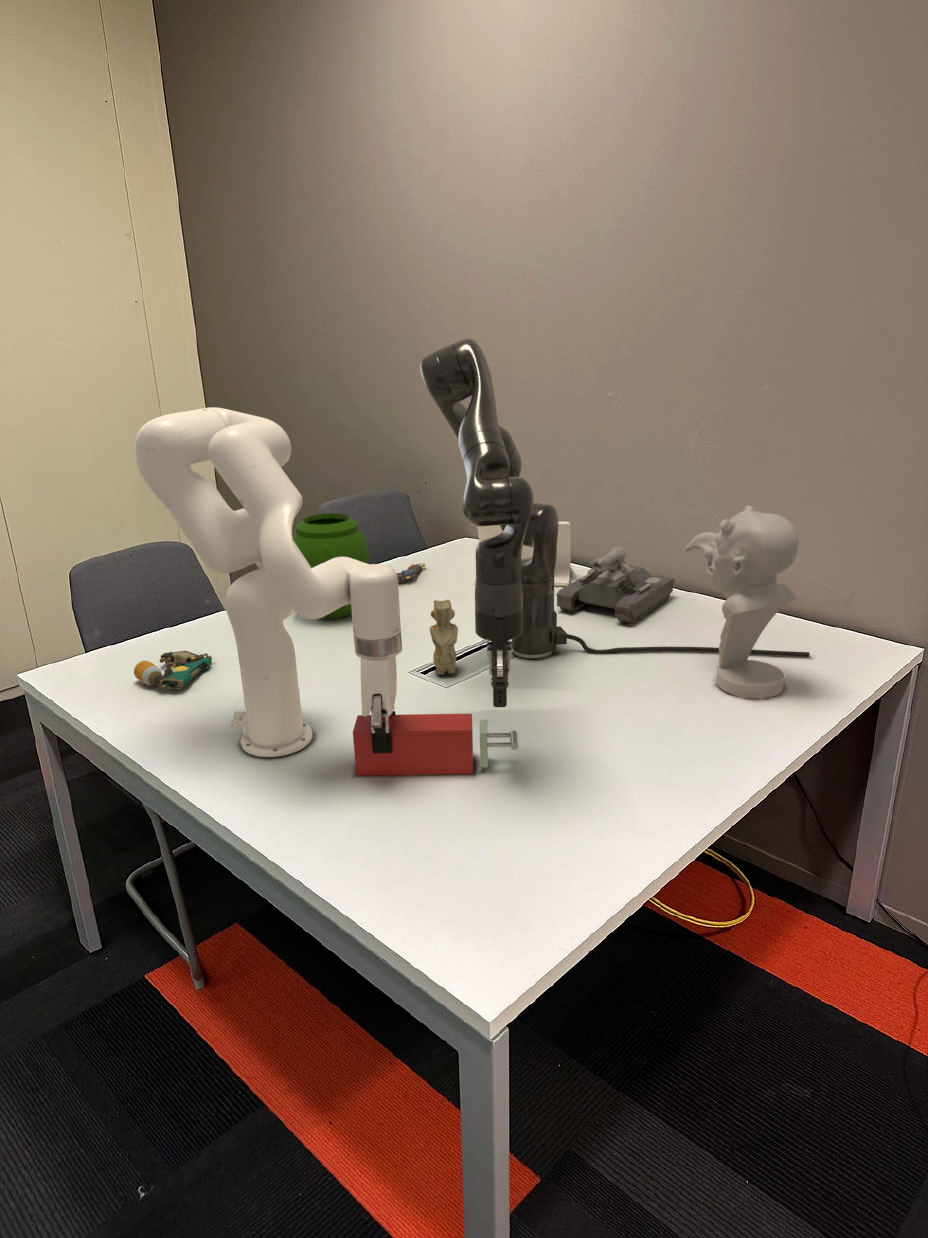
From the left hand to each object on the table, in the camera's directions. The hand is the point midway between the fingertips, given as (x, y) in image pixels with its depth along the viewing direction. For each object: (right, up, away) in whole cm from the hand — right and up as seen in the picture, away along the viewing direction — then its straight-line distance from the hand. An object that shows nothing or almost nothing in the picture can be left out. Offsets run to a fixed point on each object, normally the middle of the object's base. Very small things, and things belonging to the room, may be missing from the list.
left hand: (384, 741), depth 142 cm
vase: (-19, +21, +72) cm, 77 cm away
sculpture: (+9, +9, +38) cm, 40 cm away
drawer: (+11, -3, +1) cm, 11 cm away
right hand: (+19, +6, -3) cm, 20 cm away
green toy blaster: (-47, +8, +39) cm, 62 cm away
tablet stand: (+30, +33, +97) cm, 107 cm away
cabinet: (+5, -4, +2) cm, 7 cm away
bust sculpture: (+67, +8, +29) cm, 73 cm away
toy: (+51, +24, +72) cm, 92 cm away
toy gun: (-4, +32, +98) cm, 104 cm away
